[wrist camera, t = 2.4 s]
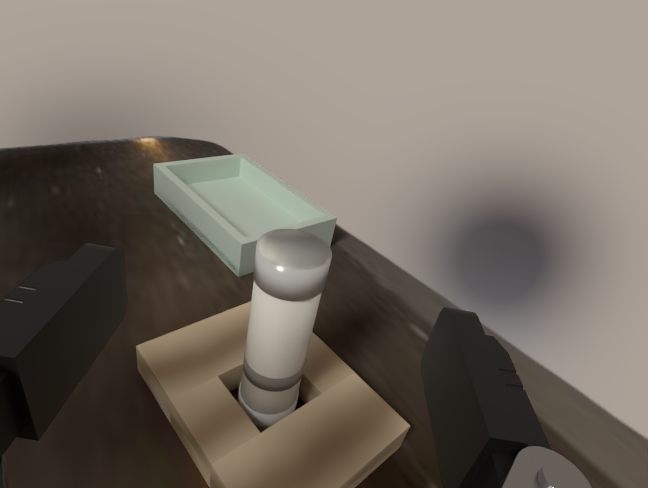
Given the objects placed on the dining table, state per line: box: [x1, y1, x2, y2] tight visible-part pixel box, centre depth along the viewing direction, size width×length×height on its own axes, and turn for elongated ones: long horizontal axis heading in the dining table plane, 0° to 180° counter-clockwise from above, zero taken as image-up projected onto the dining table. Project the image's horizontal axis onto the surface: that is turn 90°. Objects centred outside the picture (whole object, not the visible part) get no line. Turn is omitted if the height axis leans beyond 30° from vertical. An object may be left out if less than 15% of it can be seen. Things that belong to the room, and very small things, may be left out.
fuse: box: [237, 229, 332, 433], centre depth 27 cm, size 4×4×14 cm
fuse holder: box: [136, 301, 410, 488], centre depth 30 cm, size 16×12×2 cm
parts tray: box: [153, 154, 337, 277], centre depth 51 cm, size 20×13×4 cm, turn 42°
